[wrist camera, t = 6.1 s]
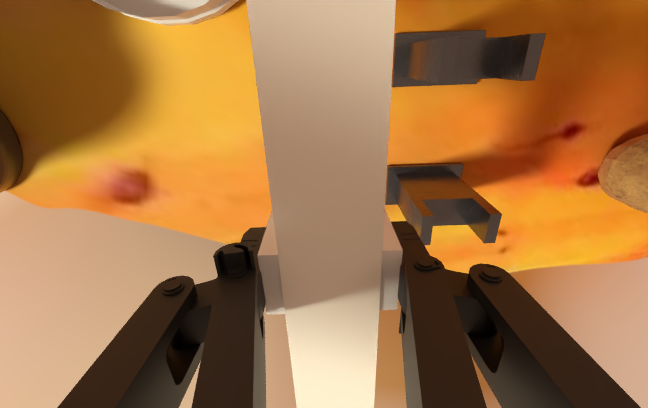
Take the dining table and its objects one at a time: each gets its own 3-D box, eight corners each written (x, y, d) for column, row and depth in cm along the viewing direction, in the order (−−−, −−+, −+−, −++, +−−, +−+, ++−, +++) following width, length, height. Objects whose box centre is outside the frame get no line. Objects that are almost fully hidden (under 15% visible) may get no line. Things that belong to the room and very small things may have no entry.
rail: (304, 379, 18) (301, 446, 15) (264, -31, 10) (237, -75, 7) (363, 377, 18) (371, 443, 15) (374, -36, 10) (400, -82, 6)
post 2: (384, 202, 39) (407, 254, 29) (387, 165, 37) (412, 206, 27) (455, 200, 39) (503, 251, 29) (461, 162, 37) (515, 203, 26)
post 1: (391, 86, 33) (423, 98, 23) (394, 34, 31) (430, 21, 21) (474, 83, 33) (544, 94, 23) (483, 30, 31) (564, 15, 20)
